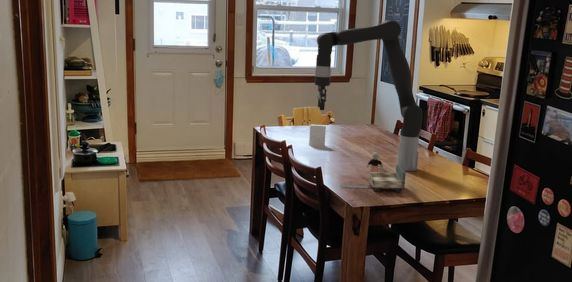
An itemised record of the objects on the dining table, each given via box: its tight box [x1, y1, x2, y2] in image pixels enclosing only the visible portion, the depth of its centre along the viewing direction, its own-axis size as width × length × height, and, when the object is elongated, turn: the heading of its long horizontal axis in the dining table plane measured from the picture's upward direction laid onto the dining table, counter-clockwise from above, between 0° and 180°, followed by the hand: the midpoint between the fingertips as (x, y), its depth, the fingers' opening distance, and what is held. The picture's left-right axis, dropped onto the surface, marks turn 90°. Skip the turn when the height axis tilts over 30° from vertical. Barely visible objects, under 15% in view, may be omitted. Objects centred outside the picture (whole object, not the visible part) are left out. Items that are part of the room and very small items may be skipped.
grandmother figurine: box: [366, 151, 384, 173], centre depth 276 cm, size 8×4×13 cm, turn 105°
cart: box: [366, 164, 407, 193], centre depth 261 cm, size 14×13×9 cm
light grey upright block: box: [308, 123, 327, 149], centre depth 335 cm, size 9×9×12 cm
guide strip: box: [339, 184, 394, 190], centre depth 262 cm, size 26×3×1 cm, turn 93°
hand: (321, 108), depth 286 cm, fingers open, 8 cm apart
